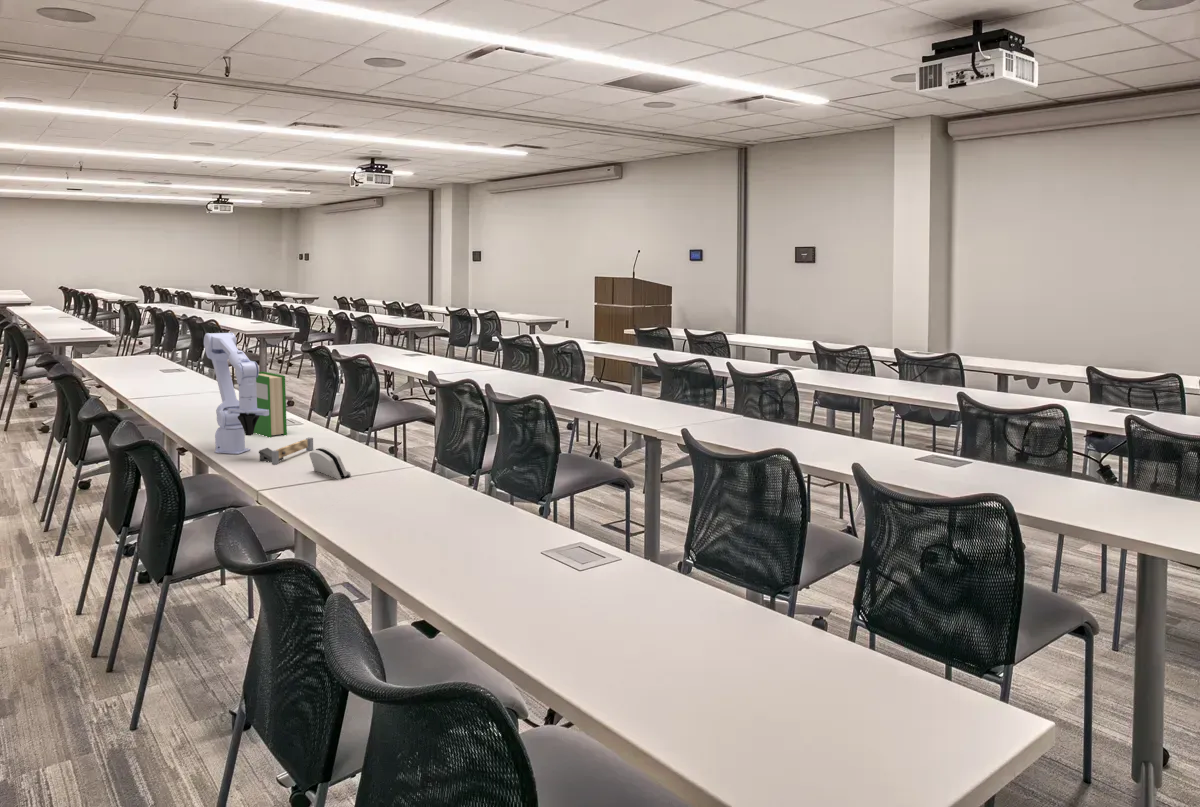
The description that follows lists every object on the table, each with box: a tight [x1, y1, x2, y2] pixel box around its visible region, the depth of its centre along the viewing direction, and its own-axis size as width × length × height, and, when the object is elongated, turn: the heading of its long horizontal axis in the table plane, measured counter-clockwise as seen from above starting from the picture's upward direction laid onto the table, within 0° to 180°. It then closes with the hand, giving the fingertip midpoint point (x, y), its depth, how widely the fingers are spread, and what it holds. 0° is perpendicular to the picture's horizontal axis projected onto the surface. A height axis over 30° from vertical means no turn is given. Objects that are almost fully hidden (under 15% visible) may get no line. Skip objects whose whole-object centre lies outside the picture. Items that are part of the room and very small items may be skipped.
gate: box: [275, 438, 308, 458], centre depth 305 cm, size 21×2×3 cm, turn 170°
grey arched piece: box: [308, 446, 352, 480], centre depth 281 cm, size 17×5×10 cm, turn 44°
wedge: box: [258, 447, 284, 463], centre depth 298 cm, size 6×5×4 cm
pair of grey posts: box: [271, 437, 314, 465], centre depth 305 cm, size 2×25×4 cm, turn 170°
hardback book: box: [253, 371, 288, 438], centre depth 344 cm, size 18×7×24 cm, turn 48°
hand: (249, 435), depth 299 cm, fingers closed
